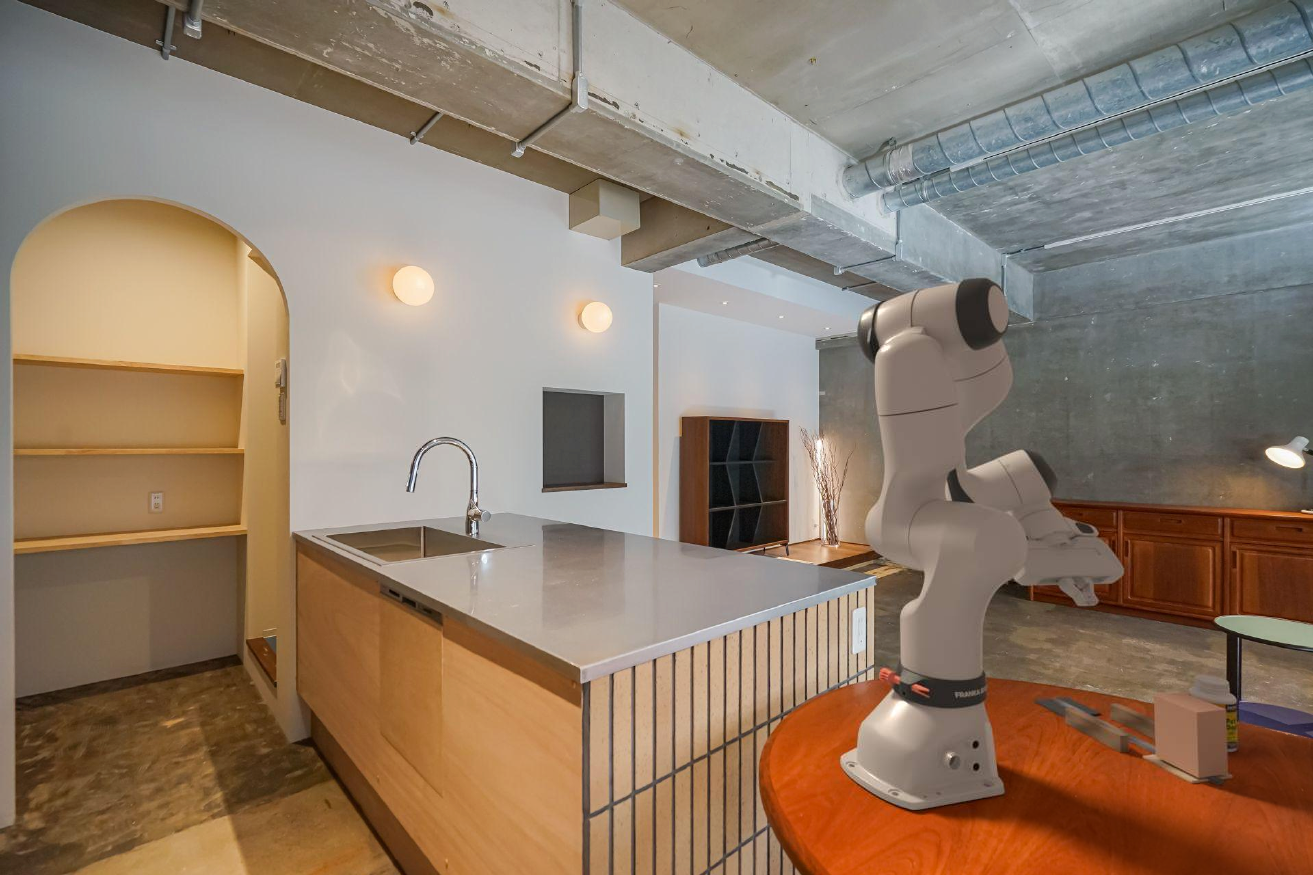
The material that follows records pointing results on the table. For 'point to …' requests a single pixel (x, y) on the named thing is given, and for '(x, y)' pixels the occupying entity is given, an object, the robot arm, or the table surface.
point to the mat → (1180, 770)
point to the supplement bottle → (1219, 702)
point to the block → (1191, 734)
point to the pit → (1061, 710)
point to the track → (1113, 734)
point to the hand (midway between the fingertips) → (1089, 604)
